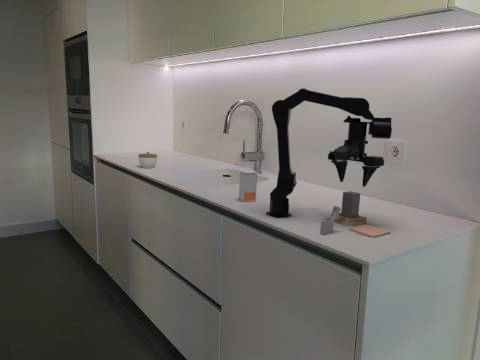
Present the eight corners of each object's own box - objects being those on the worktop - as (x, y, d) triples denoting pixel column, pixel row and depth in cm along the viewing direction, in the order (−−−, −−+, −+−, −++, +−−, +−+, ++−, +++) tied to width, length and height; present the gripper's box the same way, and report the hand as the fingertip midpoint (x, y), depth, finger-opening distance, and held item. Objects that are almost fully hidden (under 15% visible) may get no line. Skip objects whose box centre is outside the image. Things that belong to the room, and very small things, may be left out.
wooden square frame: (332, 220, 137) (332, 214, 137) (347, 217, 142) (347, 211, 142) (351, 226, 131) (351, 220, 131) (366, 222, 136) (366, 217, 135)
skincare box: (242, 202, 158) (243, 172, 156) (238, 199, 162) (239, 170, 160) (256, 201, 161) (257, 171, 159) (252, 199, 165) (253, 170, 163)
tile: (348, 230, 126) (348, 228, 126) (366, 226, 132) (366, 224, 132) (373, 238, 119) (373, 236, 119) (390, 233, 125) (390, 231, 125)
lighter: (324, 235, 120) (326, 209, 119) (319, 233, 121) (321, 208, 120) (338, 231, 124) (341, 206, 123) (334, 230, 126) (336, 205, 124)
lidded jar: (141, 169, 230) (141, 153, 228) (136, 166, 239) (136, 150, 237) (159, 168, 235) (159, 152, 233) (153, 166, 244) (154, 150, 242)
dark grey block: (340, 220, 137) (343, 192, 135) (348, 219, 139) (350, 191, 138) (350, 223, 134) (352, 194, 132) (357, 222, 136) (360, 193, 134)
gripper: (318, 135, 134) (314, 181, 136) (365, 139, 119) (360, 191, 122) (340, 135, 140) (336, 179, 143) (387, 139, 125) (382, 188, 128)
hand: (352, 184), depth 134 cm, fingers open, 9 cm apart
